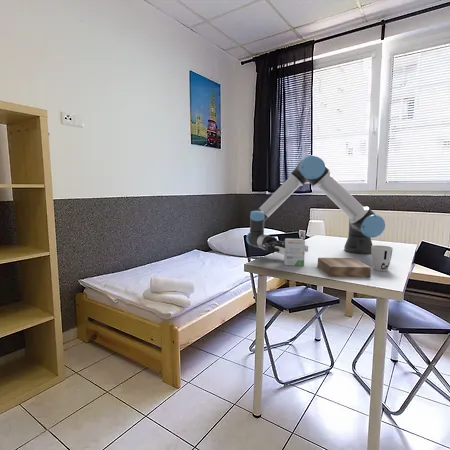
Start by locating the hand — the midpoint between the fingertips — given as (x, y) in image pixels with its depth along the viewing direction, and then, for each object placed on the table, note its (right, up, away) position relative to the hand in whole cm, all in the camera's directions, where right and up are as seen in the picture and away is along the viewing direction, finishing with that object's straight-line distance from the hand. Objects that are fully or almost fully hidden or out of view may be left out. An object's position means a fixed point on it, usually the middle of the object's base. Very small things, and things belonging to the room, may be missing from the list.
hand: (296, 250), depth 134 cm
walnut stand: (+17, -8, -9) cm, 21 cm away
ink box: (-1, -7, +2) cm, 7 cm away
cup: (+35, -8, -5) cm, 36 cm away
